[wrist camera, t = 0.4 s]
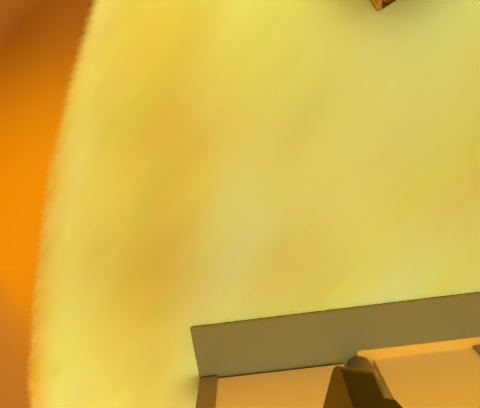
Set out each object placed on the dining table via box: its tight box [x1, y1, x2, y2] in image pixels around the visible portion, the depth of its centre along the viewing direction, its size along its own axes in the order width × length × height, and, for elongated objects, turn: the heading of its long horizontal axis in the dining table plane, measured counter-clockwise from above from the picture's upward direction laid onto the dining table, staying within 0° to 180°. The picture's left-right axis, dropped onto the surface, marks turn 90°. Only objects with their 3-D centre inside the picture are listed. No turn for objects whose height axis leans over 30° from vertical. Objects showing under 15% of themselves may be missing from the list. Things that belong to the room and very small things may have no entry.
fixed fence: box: [347, 344, 480, 408], centre depth 33 cm, size 15×2×13 cm, turn 98°
